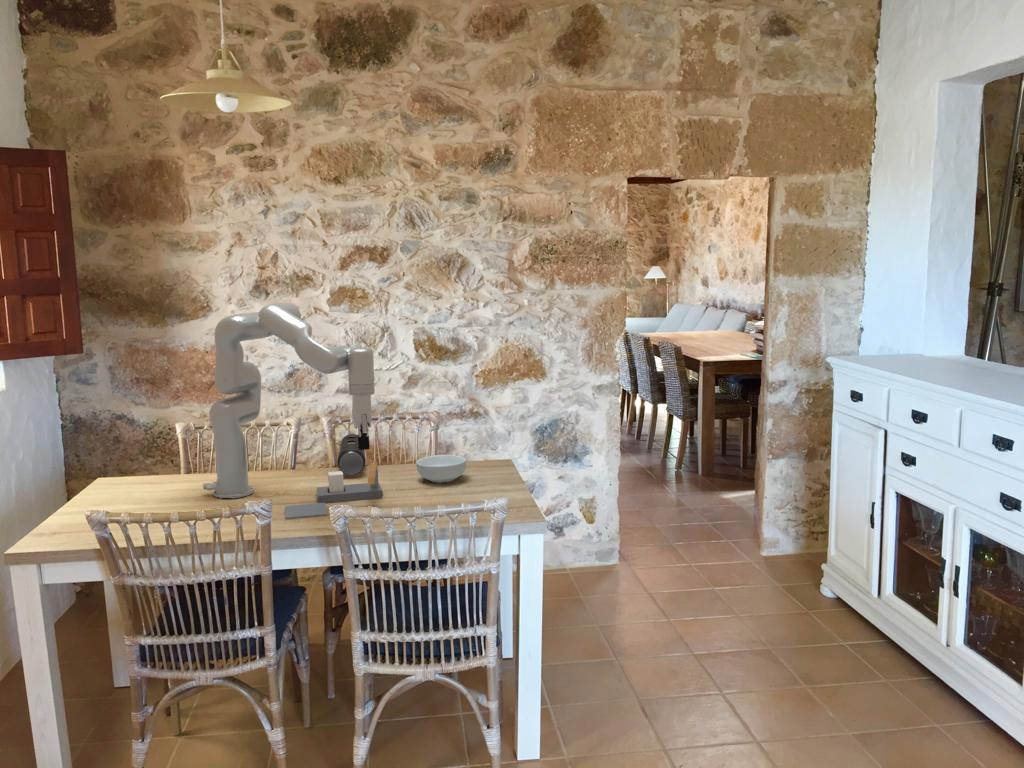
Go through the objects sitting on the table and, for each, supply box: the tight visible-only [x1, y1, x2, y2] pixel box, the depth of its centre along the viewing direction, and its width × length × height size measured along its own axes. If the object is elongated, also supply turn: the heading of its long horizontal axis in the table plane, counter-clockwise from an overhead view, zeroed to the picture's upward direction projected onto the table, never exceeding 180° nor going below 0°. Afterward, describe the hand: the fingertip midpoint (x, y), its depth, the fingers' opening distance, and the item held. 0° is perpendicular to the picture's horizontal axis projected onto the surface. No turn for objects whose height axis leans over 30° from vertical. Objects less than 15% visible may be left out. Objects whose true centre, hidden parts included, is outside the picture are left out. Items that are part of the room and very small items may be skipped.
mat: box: [284, 502, 328, 520], centre depth 257 cm, size 12×12×1 cm
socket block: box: [316, 468, 384, 504], centre depth 271 cm, size 20×10×8 cm, turn 105°
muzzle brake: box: [337, 433, 366, 476], centre depth 305 cm, size 10×28×10 cm, turn 10°
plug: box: [327, 470, 345, 493], centre depth 270 cm, size 4×4×8 cm
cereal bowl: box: [415, 454, 467, 484], centre depth 289 cm, size 17×17×7 cm
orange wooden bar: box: [367, 460, 379, 484], centre depth 264 cm, size 20×3×2 cm, turn 7°
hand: (363, 448), depth 256 cm, fingers closed
